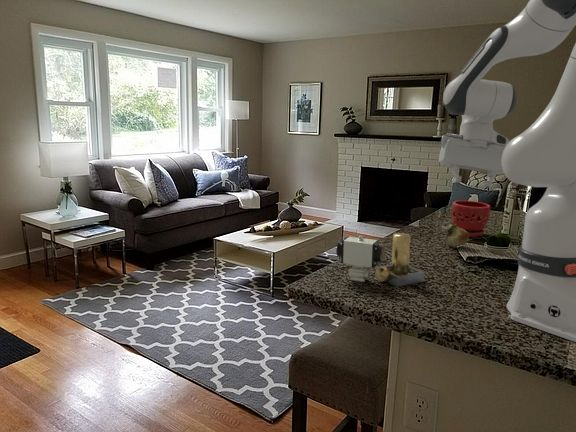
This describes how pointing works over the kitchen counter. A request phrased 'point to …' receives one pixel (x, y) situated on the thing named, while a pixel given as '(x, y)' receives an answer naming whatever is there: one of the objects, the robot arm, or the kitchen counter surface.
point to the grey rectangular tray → (385, 275)
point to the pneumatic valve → (360, 256)
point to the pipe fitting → (400, 253)
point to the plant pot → (470, 216)
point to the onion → (455, 235)
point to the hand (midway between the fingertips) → (472, 184)
